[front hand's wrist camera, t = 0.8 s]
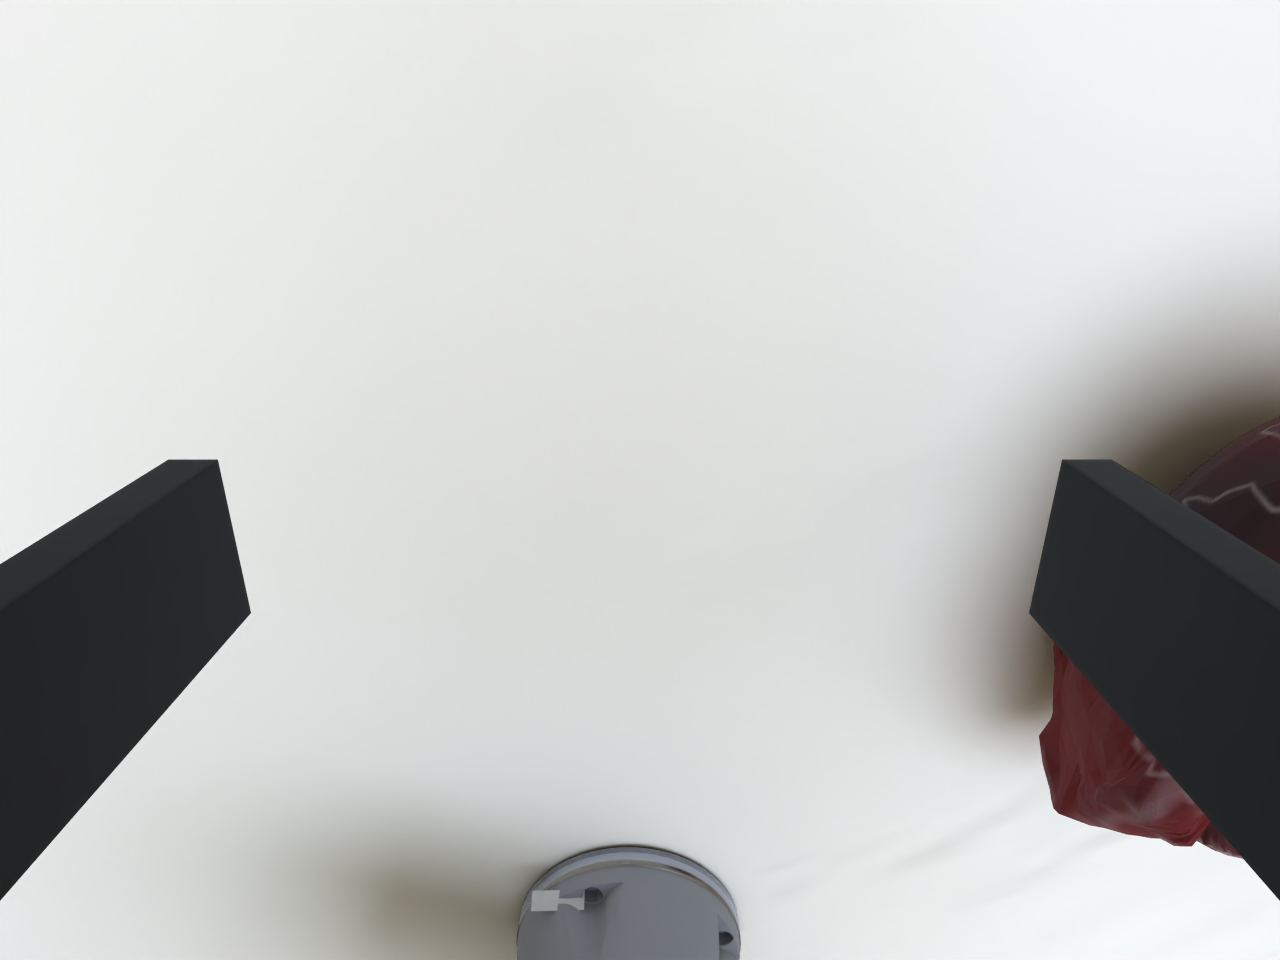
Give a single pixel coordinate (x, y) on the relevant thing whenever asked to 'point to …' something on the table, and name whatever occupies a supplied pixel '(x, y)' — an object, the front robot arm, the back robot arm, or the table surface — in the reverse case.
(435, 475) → the table surface
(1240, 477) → the dark red rounded piece
